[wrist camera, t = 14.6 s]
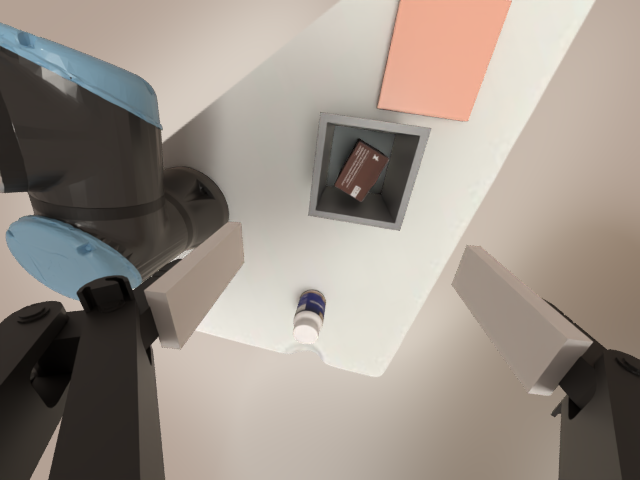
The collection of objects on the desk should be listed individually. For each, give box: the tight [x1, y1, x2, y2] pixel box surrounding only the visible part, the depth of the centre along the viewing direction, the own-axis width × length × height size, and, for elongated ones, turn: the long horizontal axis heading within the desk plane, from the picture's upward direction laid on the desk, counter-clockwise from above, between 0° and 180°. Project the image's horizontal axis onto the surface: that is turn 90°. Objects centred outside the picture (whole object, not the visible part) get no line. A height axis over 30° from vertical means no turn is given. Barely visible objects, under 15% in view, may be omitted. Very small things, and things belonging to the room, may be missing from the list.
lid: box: [377, 0, 512, 121], centre depth 31 cm, size 13×13×2 cm
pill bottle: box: [293, 290, 326, 344], centre depth 47 cm, size 6×6×10 cm
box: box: [334, 138, 389, 202], centre depth 33 cm, size 6×4×12 cm
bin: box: [308, 112, 431, 231], centre depth 32 cm, size 11×11×14 cm
